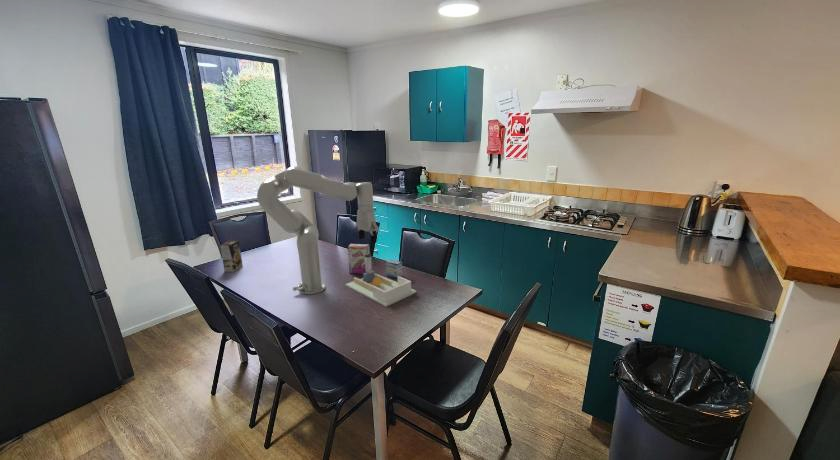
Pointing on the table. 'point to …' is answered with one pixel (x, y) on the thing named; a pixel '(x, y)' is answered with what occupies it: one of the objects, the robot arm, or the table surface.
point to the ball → (376, 281)
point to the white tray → (383, 289)
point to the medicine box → (393, 268)
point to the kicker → (368, 269)
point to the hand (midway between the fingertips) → (367, 240)
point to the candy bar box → (357, 257)
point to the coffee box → (231, 256)
